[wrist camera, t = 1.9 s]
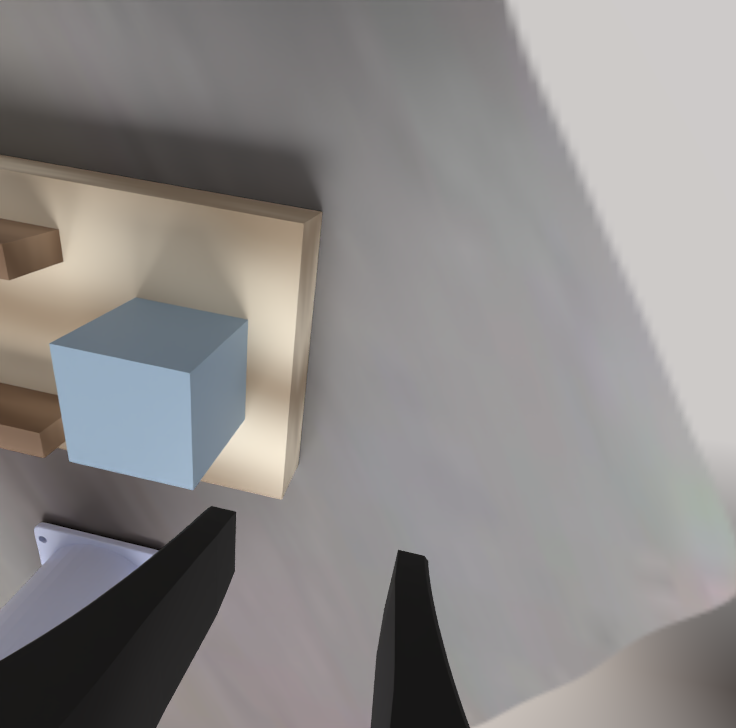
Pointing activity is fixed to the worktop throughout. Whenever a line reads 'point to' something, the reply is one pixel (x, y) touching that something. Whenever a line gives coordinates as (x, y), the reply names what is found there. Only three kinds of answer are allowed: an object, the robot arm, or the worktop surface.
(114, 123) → the worktop surface
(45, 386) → the board
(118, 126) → the worktop surface
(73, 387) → the block
